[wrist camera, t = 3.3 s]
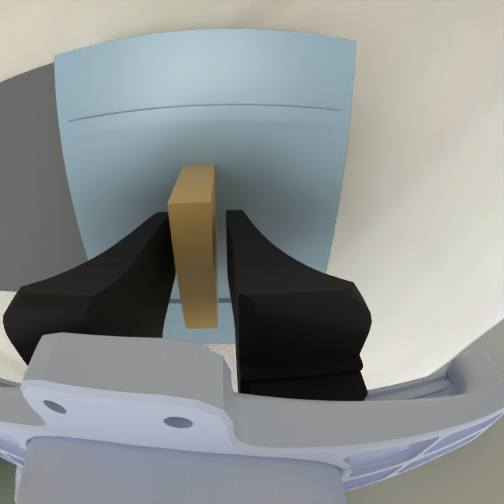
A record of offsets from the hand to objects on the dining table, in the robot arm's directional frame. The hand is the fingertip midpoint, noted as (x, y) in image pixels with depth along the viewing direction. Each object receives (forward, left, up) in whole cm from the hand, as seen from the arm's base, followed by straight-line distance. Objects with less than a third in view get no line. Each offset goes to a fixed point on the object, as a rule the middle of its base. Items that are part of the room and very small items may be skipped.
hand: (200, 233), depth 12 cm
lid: (0, 0, -3) cm, 3 cm away
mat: (0, +15, -6) cm, 16 cm away
